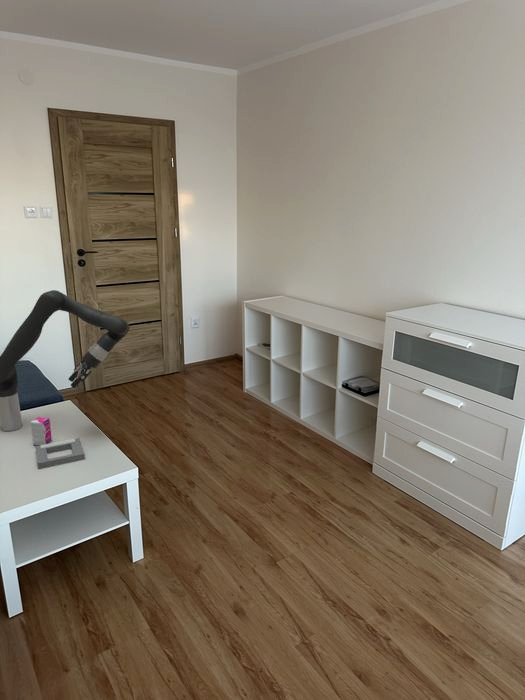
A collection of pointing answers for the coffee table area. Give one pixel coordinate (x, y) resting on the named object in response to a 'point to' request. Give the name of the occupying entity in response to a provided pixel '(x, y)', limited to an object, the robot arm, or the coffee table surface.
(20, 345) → the robot arm
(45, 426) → the supplement box
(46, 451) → the divided tray
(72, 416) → the coffee table surface
